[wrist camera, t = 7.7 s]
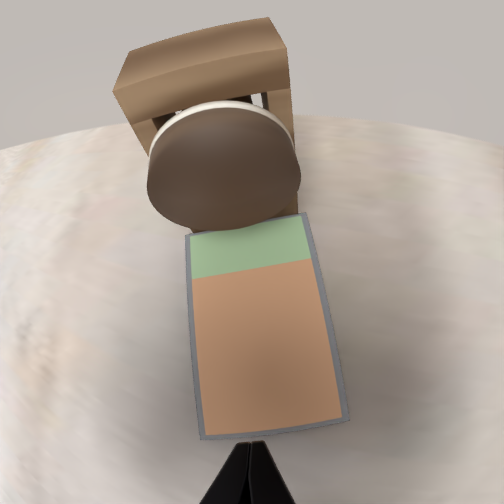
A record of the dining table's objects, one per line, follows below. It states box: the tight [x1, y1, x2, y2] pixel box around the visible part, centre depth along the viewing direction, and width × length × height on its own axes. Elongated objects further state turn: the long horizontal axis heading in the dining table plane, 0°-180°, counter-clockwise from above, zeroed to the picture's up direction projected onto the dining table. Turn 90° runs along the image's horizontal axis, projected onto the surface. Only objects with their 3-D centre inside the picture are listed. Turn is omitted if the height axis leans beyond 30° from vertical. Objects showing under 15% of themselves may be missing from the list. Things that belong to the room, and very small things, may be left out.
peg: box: [147, 95, 301, 231], centre depth 15 cm, size 8×6×6 cm
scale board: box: [185, 213, 350, 440], centre depth 17 cm, size 13×8×1 cm, turn 7°
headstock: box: [113, 17, 298, 233], centre depth 16 cm, size 4×7×12 cm, turn 97°
